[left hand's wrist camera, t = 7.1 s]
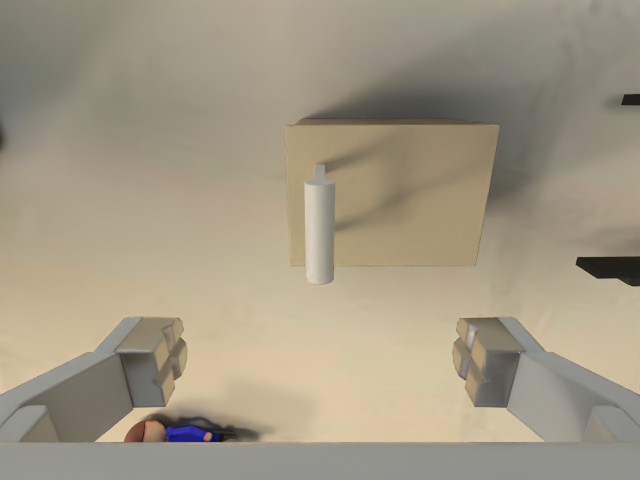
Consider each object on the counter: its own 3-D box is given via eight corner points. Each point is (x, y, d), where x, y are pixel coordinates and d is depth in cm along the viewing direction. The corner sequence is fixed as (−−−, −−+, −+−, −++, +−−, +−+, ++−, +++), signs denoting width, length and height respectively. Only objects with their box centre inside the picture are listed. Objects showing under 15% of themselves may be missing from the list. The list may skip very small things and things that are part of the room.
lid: (291, 260, 27) (279, 321, 20) (286, 124, 24) (269, 135, 16) (470, 260, 27) (527, 321, 20) (493, 124, 24) (574, 135, 16)
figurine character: (252, 415, 47) (133, 404, 44) (247, 470, 40) (107, 462, 37) (243, 449, 50) (130, 440, 47) (237, 507, 43) (105, 501, 40)
